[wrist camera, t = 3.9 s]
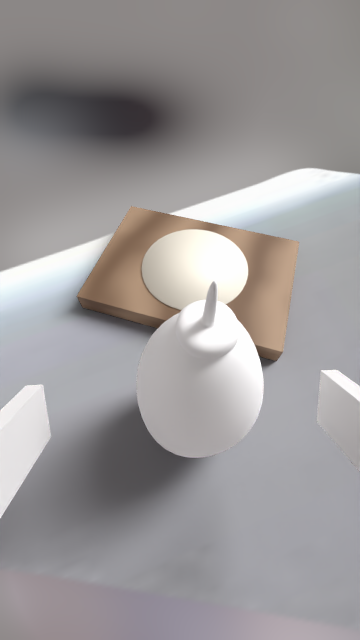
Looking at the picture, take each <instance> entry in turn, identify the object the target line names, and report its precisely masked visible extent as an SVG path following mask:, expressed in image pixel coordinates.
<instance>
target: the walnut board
mask: <svg viewBox="0 0 360 640" xmlns="http://www.w3.org/2000/svg"><path fill="white" fill-rule="evenodd" d="M298 246H299V242H298V241H293V240H289V239H284V238H279V237H274V236H270V235H265V234H260V233H255V232H251V231H246V230H241V229H236V228H232V227H227V226H222V225H217V224H213V223H208V222H203V221H199V220H194V219H189V218H184V217H180V216H175V215H170V214H165V213H161V212H156V211H151V210H146V209H142V208H137V207H132V206H131V208H130V209H129V211H128V213H127V214H126V216H125V217H124V219H123V221H122V222H121V224H120V226H119V227H118V229H117V231H116V232H115V234H114V236H113V237H112V239H111V240H110V242H109V244H108V245H107V247H106V249H105V250H104V252H103V254H102V255H101V257H100V259H99V260H98V262H97V264H96V265H95V267H94V268H93V270H92V272H91V273H90V275H89V277H88V278H87V280H86V282H85V283H84V285H83V287H82V288H81V290H80V292H79V293H78V295H77V298H78V300H79V302H80V304H81V306H82V308H86V309H90V310H93V311H97V312H101V313H104V314H108V315H111V316H115V317H119V318H122V319H126V320H130V321H133V322H137V323H140V324H144V325H148V326H151V327H155V328H159V327H160V326H161V325H162V324H163V323H164V322H165V321H167V320H168V319H169V318H171V317H172V316H174V315H176V314H178V313H180V312H181V310H182V309H183V308H184V307H186V306H187V305H189V304H191V303H193V302H196V301H199V300H206V297H207V293H208V290H209V287H210V285H211V283H212V282H213V281H214V280H215V281H216V282H217V286H218V299H217V301H219V302H222V303H223V304H225V305H227V306H228V307H229V308H230V309H231V310H232V312H233V313H234V314H235V316H236V318H237V320H238V321H239V322H240V323H241V324H242V325H243V327H244V328H245V329H246V331H247V332H248V333H249V335H250V337H251V339H252V341H253V343H254V345H255V347H256V350H257V353H258V356H260V357H263V358H267V359H271V360H274V361H277V360H278V358H279V357H280V355H281V354H282V353H283V348H284V341H285V334H286V327H287V321H288V314H289V307H290V300H291V294H292V287H293V280H294V273H295V267H296V260H297V253H298Z"/></svg>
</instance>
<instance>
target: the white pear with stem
mask: <svg viewBox="0 0 360 640" xmlns="http://www.w3.org/2000/svg"><path fill="white" fill-rule="evenodd" d="M217 299H218V286H217V282H216V281H215V280H214V281H213V282H212V283H211V285H210V287H209V290H208V293H207V297H206V300H199V301H196V302H193V303H191V304H189V305H187V306H186V307H184V308H183V309H182V310H181V312H180V313H178V314H176V315H174V316H172V317H171V318H169V319H168V320H167V321H165V322H164V323H163V324H162V325H161V326H160V327H159V328H158V329H157V330H156V331H155V332H154V333H153V335H152V336H151V337H150V339H149V341H148V343H147V345H146V346H145V348H144V350H143V352H142V355H141V359H140V362H139V365H138V370H137V381H136V390H137V401H138V405H139V409H140V413H141V416H142V419H143V421H144V423H145V425H146V427H147V429H148V431H149V432H150V434H151V435H152V436H153V438H154V439H155V440H156V442H157V443H159V444H160V445H161V446H162V447H163V448H165V449H166V450H168V451H170V452H172V453H174V454H176V455H179V456H184V457H188V458H202V457H207V456H213V455H216V454H218V453H221V452H224V451H226V450H228V449H229V448H231V447H232V446H234V445H236V444H237V443H238V442H239V441H240V440H241V439H243V438H244V437H245V436H246V435H247V434H248V433H249V431H250V429H251V428H252V426H253V425H254V423H255V421H256V420H257V418H258V415H259V411H260V408H261V405H262V401H263V385H264V383H263V374H262V367H261V362H260V359H259V356H258V353H257V350H256V347H255V345H254V343H253V341H252V339H251V337H250V335H249V333H248V332H247V331H246V329H245V328H244V327H243V325H242V324H241V323H240V322H239V321H238V320H237V318H236V316H235V314H234V313H233V312H232V310H231V309H230V308H229V307H228V306H227V305H225V304H223V303H222V302H219V301H217Z"/></svg>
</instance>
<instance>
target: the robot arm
mask: <svg viewBox="0 0 360 640" xmlns="http://www.w3.org/2000/svg"><path fill="white" fill-rule="evenodd" d="M317 423H318V424H319V425H320V426H321V428H322V429H323V430H324V431H325V432H326V433H327V435H328V436H329V437H330V438H331V439H332V440H333V442H334V443H335V444H336V445H337V446H338V447H339V449H340V450H341V451H342V452H343V453H344V454H345V456H346V457H347V458H348V459H349V460H350V461H351V463H352V464H353V465H354V466H355V467H356V468H357V470H358V471H359V472H360V386H358V385H357V384H356V383H354V382H353V381H352V380H350V379H349V378H347V377H346V376H345V375H343V374H342V373H340V372H339V371H338V370H323V371H321V375H320V388H319V400H318V412H317ZM50 438H51V433H50V427H49V420H48V414H47V408H46V401H45V395H44V389H43V385H26V386H25V387H24V388H23V389H22V390H21V391H20V392H19V393H18V394H17V395H16V396H15V397H14V398H13V399H12V400H11V401H10V402H8V403H7V404H6V405H5V406H4V407H3V408H2V409H1V410H0V518H1V516H2V515H3V513H4V512H5V510H6V508H7V507H8V505H9V504H10V502H11V500H12V499H13V497H14V496H15V494H16V492H17V491H18V489H19V488H20V486H21V484H22V483H23V481H24V479H25V478H26V476H27V475H28V473H29V471H30V470H31V468H32V467H33V465H34V463H35V462H36V460H37V459H38V457H39V455H40V454H41V452H42V451H43V449H44V447H45V446H46V444H47V443H48V441H49V439H50Z"/></svg>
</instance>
